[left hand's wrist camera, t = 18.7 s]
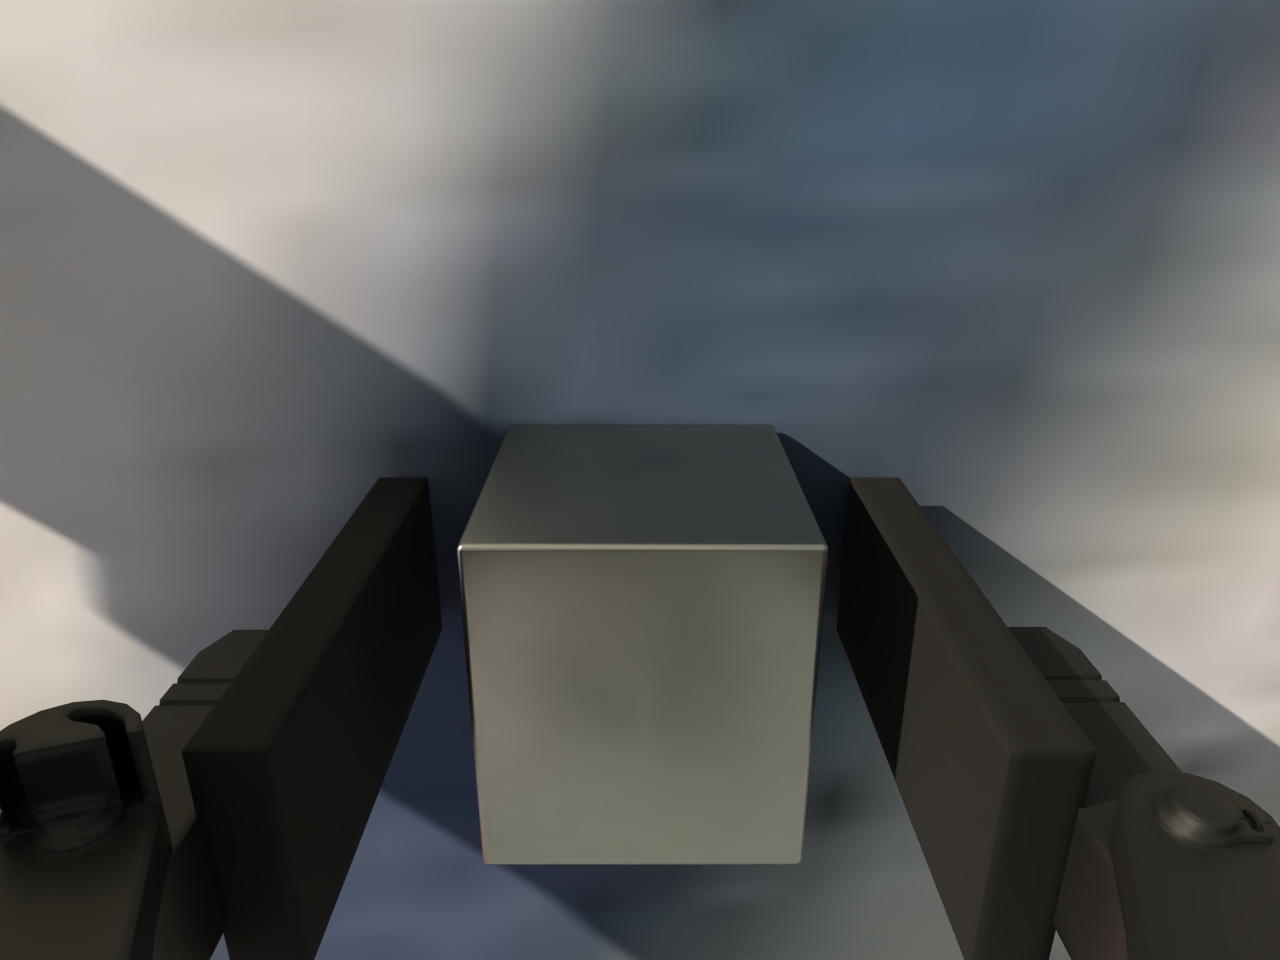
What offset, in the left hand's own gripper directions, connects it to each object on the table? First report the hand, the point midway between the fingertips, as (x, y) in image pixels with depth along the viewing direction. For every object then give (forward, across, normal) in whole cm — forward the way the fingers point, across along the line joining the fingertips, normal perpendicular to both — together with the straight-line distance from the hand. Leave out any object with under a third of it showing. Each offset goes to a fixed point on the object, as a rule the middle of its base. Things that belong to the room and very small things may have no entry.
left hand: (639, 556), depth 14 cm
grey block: (0, 0, 0) cm, 0 cm away
